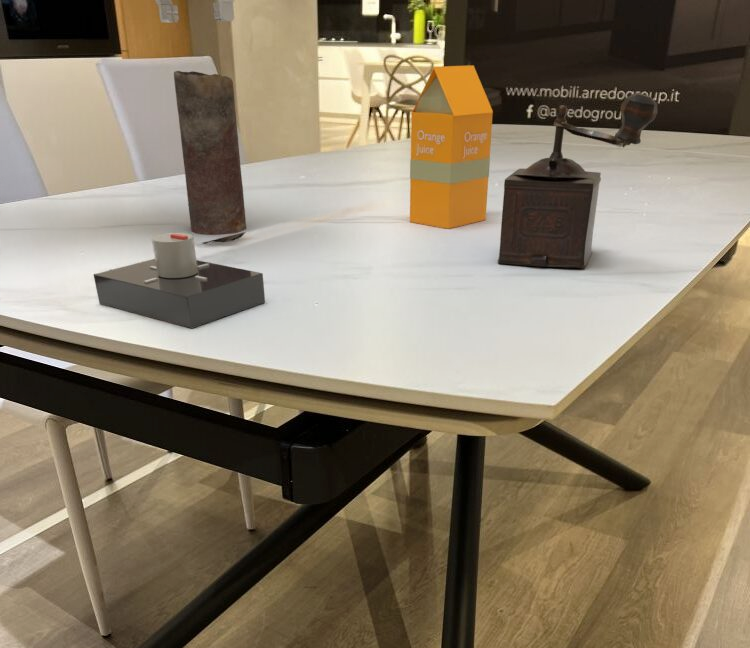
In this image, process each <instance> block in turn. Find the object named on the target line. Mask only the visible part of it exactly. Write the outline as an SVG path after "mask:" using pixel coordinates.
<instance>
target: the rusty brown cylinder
mask: <svg viewBox="0 0 750 648" xmlns="http://www.w3.org/2000/svg"><path fill="white" fill-rule="evenodd" d="M173 81H174V89H175V100H176V107H177V108H176V109H177V114H178V124H179V132H180V141H181V151H182V159H183V168H184V176H185V186H186V196H187V206H188V214H189V222H190V230H191V231H190V232H191V233H193V234H197V235H204V236H222V235H227V236H223V237H220V238H216V239H211V240H207V241H204V242H202V244H204V245H205V244H208V243H227V242H230V241H235V240H239V239H240V238H242V237H243V236H244V235H245V234H246V233H247V231H246V230H247V219H246V208H245V207H246V206H245V197H244V187H243V186H244V185H243V177H242V168H241V156H240V144H239V134H238V123H237V112H236V110H237V109H236V101H235V100H236V99H235V87H234V81H233V79H232V78H231V77H229V76H225V75H222V74H217V73H213V74H207V73H204V72H199V71H193V70H192V71H180V70H175V71H174V72H173ZM230 234H231V235H230Z"/></svg>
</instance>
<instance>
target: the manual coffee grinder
mask: <svg viewBox="0 0 750 648" xmlns="http://www.w3.org/2000/svg"><path fill="white" fill-rule="evenodd" d="M658 110H659V109H658V103H657V102H656V100H654V98H653V97H652V96H650V95H647V94H644V93H641V92H633V93H632V94H631V95H629V96H626V97H625V99H623V101H622V103H620V111H619V112H620V115H621V126H620V128H619V129H618V131H617V132H615V134H614V135H612V134H609V133H605V132H601V131H597V130H594V129H589V128H584V127H577V126H575V125H572V124H569V123H568V120H567V119H566V117H567V115H568V112H569V110H568V107H567V106H566V105H563V104H561V105H559V106H558V107H557V108H556V109H555V115H556V119H554V122H553V126H554V127H555V131H554V132H555V133H554V141H553V148H552V152H551V154H550V156H549V157H545V158H541V159H539V160H537V161H536V162H533V163H532V164H531V165H529V166H528V167H527V168H518V169H516V170H515V171H514V172H512V173H511V174H510V175H508V176H506V178H505V179H504V182H503V183H504V184H503V200H502V212H501V224H500V239H499V253H498V254H499V255H498V258H497V263H498V264H499V265H513V266H514V265H515V266H525V267H526V266H528V267H537V268H539V267H540V268H548V267H550V268H569V269H571V268H573V269H584V268H585V267H586V266H587V265H588V263H589V262H590V259H591V257H592V252H593V251H592V247H593V237H594V229H595V228H594V227H595V220H596V214H597V213H596V212H597V204H598V198H599V189H600V182H601V174H602V172H597V171H586V170H585V169H584V168H583V167H582V166H581V164H579V163H578V162H576V161H574V160H573V159H571V158H567V157H564V156H563V152H562V148H563V140H564V132H565V131H567V132H568V133H570V134H571V135H574V136H578V137H582V138H588V139H592V140H595V141H600V142H604V143H606V144H609V145H612V146H616V147H619V148H621V147H622V148H625V147H626V146H629V145H631V144H632V145H639V144H641V142H642V141H641V135H642V131H643V130H644V129H646V127H647V126H648V125H649V124H650V123H652V122H653V121H654V120H655V119H656V117H657V115H658V112H659V111H658Z"/></svg>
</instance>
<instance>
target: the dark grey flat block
mask: <svg viewBox="0 0 750 648" xmlns="http://www.w3.org/2000/svg"><path fill="white" fill-rule="evenodd" d="M196 261H197V268H198V273H197V274H195V275H193V276H189V277H184V278H163V277H160V276H158V275H157V269H156V263H155V258H152V259H149V260H145V261H141V262H137V263H133V264H129V265H124V266H121V267H117V268H113V269H109V270H106V271H101V272H98V273H94V274H93V279H94V280H93V281H94V284H95V289H96V293H97V299H98V303H99V304H100V305H103V306H107V307H111V308H114V309H118V310H122V311H126V312H130V313H134V314H137V315H141V316H143V317H149V318H152V319H156V320H160V321H163V322H167V323H171V324H174V325H178V326H182V327H185V328H189V329H194V328H197V327H199V326H203V325H205V324H208V323H210V322H214V321H217V320H219V319H222V318H226V317H228V316H230V315H233V314H236V313H240V312H242V311H245V310H247V309H251V308H253V307H256V306H259V305H263V304H265V303H266V295H265V294H266V293H265V284H264V273H263V272H259V271H253V270H248V269H243V268H238V267H234V266H228V265H223V264H218V263H213V262H208V261H203V260H198V259H196Z"/></svg>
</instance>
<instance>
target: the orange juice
mask: <svg viewBox="0 0 750 648" xmlns="http://www.w3.org/2000/svg"><path fill="white" fill-rule="evenodd" d="M432 67H433V69H432V71H431V72H430V75H429V77H428V79H427V81H426V83H425V85H424V86H423V89H422V91H421V94H420V95H419V98H418V99H417V102H416V104H415V106H414V107H413V109H412V111H411V112H410V113H411V116H410V120H411V121H410V159H409V160H410V162H409V168H410V170H409V179H410V183H409V184H410V187H409V188H410V189H409V198H410V199H409V223H413V224H420V225H425V226H430V227H436V228H441V229H447V230H449V229H455V228H458V227H462V226H466V225H470V224H475V223H479V222H483V221H486V220H487V219H486V218H487V203H488V191H489V190H488V189H489V177H490V167H491V166H490V162H491V143H492V128H493V116H494V115H493V114H494V111H493V109H492V108H493V107H492V106H491V103H490V101H489V98H488V96H487V94H486V91H485V89H484V87H483V85H482V82H481V80H480V78H479V75H478V73H477V70H476V67H475V65H473V64H472V65H447V66H446V65H443V66H432Z"/></svg>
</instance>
